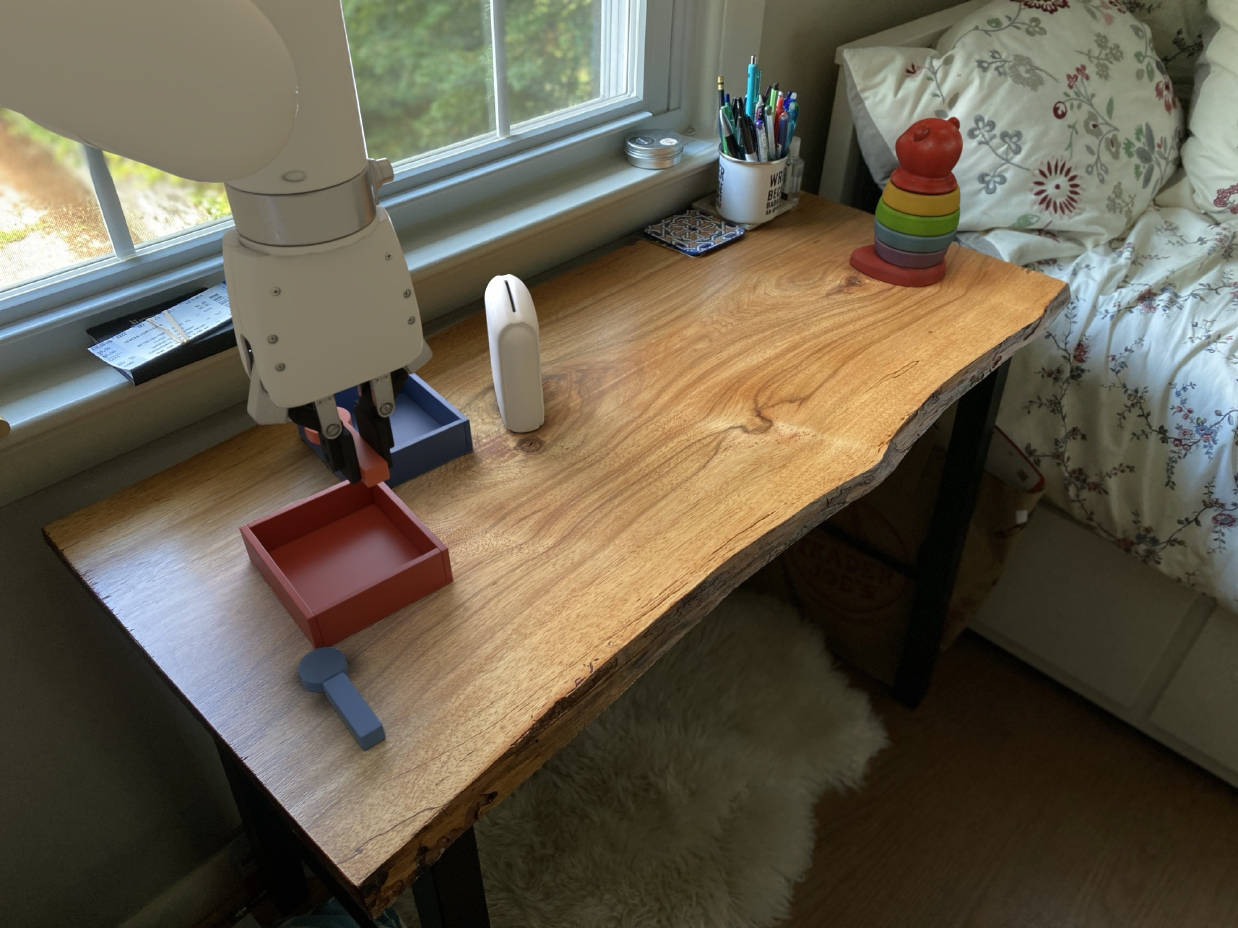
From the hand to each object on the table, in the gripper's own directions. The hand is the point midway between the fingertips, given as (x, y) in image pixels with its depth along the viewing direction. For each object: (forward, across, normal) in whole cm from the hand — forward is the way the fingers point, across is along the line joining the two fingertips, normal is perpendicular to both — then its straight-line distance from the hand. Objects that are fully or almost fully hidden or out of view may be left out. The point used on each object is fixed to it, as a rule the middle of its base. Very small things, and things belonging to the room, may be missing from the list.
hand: (362, 464), depth 62 cm
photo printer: (+13, -22, -16) cm, 30 cm away
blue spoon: (+13, +7, +6) cm, 16 cm away
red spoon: (0, 0, -2) cm, 2 cm away
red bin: (+13, +1, -5) cm, 14 cm away
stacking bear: (+13, -74, -10) cm, 76 cm away
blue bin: (+13, -9, -18) cm, 24 cm away
